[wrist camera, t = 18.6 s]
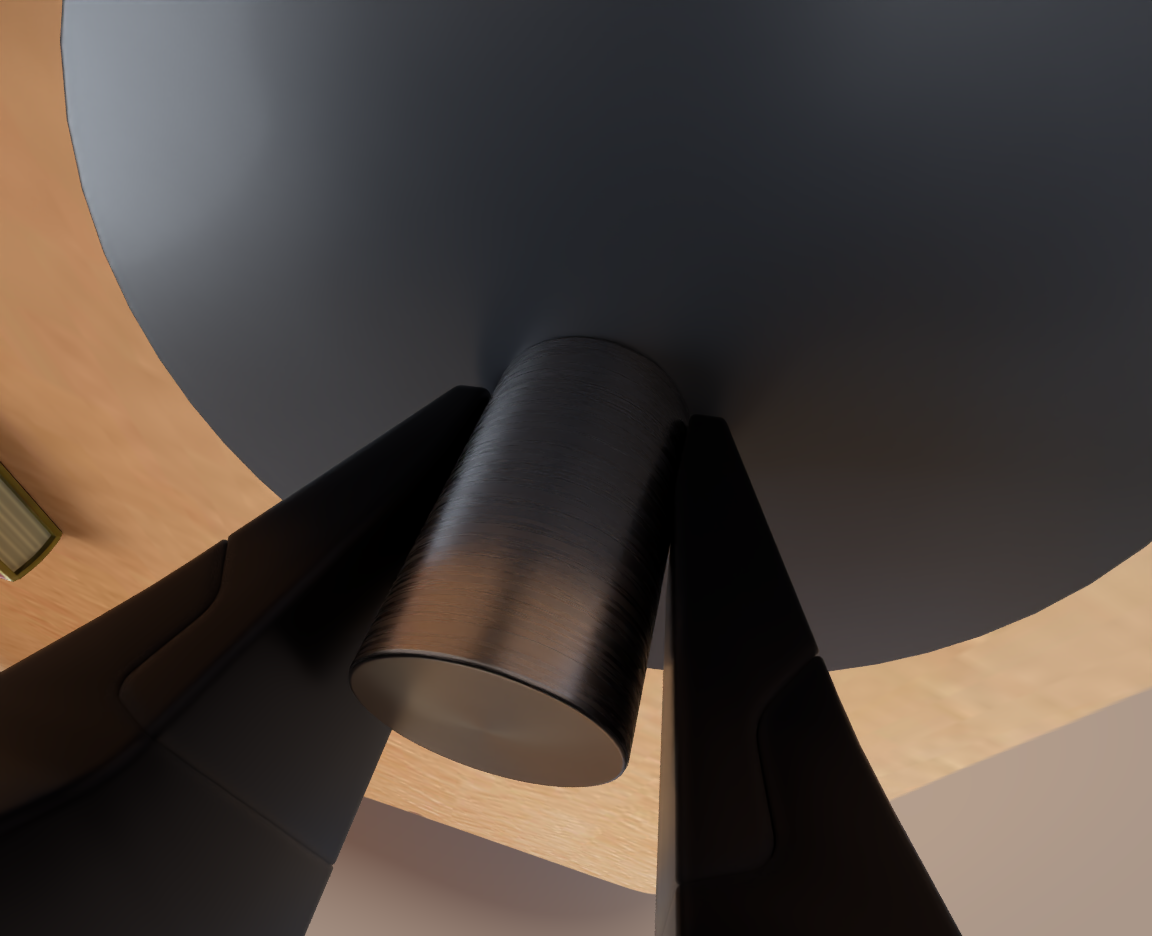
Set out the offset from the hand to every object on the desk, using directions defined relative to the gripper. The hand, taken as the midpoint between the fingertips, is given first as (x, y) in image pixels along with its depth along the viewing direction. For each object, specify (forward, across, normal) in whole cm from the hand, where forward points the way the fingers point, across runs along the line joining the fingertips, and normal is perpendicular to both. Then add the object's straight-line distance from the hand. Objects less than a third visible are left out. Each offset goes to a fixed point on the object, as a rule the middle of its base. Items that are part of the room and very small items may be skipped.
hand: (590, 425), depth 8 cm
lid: (+1, 0, 0) cm, 1 cm away
